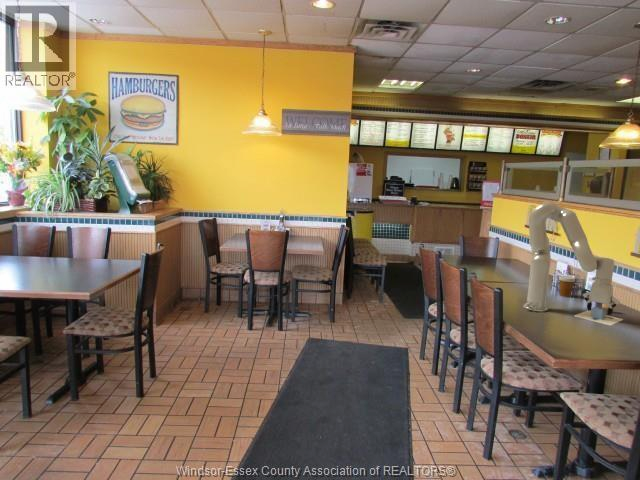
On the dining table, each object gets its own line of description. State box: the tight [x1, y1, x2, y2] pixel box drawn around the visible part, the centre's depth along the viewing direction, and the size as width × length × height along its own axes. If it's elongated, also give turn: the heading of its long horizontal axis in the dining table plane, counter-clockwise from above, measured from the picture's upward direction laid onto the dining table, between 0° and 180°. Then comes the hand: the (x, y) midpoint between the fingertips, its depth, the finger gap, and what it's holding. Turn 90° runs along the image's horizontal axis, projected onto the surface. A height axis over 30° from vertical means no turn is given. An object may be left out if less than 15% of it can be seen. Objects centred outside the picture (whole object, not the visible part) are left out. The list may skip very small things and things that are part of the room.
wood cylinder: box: [601, 301, 615, 314], centre depth 253 cm, size 6×6×6 cm
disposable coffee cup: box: [558, 275, 576, 298], centre depth 286 cm, size 10×10×12 cm
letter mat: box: [573, 310, 624, 326], centre depth 241 cm, size 18×18×1 cm
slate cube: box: [591, 306, 607, 320], centre depth 241 cm, size 5×5×5 cm
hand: (598, 312), depth 240 cm, fingers open, 9 cm apart
